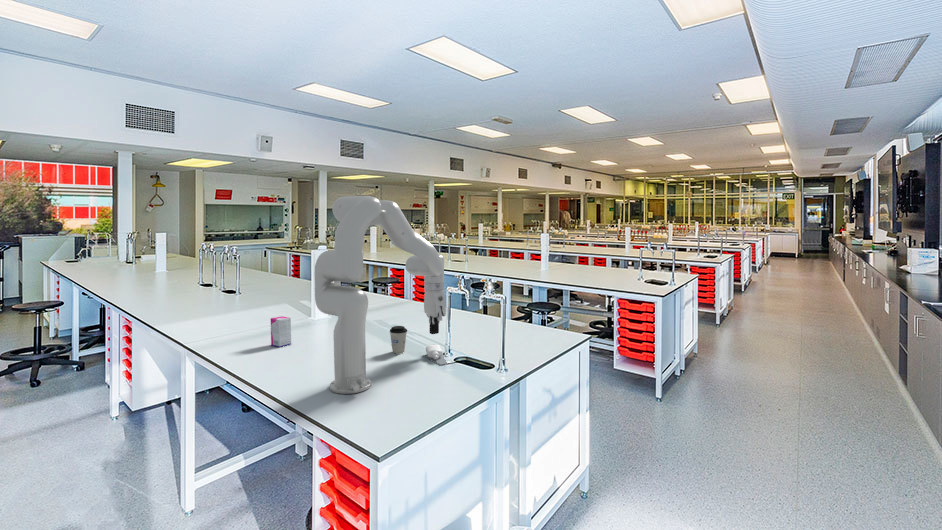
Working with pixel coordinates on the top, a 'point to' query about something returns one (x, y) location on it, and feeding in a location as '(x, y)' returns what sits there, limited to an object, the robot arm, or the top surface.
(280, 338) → the supplement box
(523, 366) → the top surface
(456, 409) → the top surface
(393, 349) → the coffee cup
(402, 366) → the top surface
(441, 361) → the mat
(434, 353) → the eye dropper bottle
